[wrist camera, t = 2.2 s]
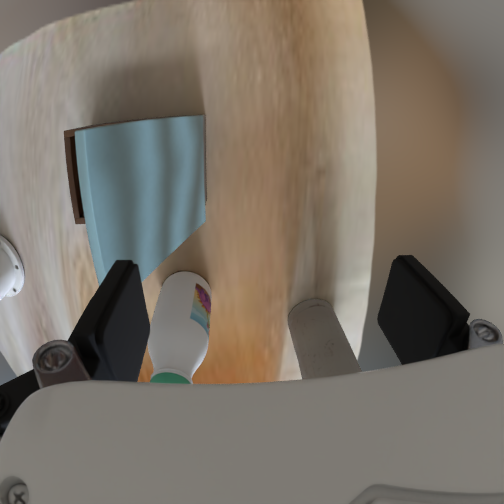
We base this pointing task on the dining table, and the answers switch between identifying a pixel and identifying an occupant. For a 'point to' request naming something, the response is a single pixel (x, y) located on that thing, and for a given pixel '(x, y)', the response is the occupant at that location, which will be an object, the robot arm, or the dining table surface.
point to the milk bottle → (180, 328)
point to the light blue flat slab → (141, 189)
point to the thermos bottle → (320, 341)
